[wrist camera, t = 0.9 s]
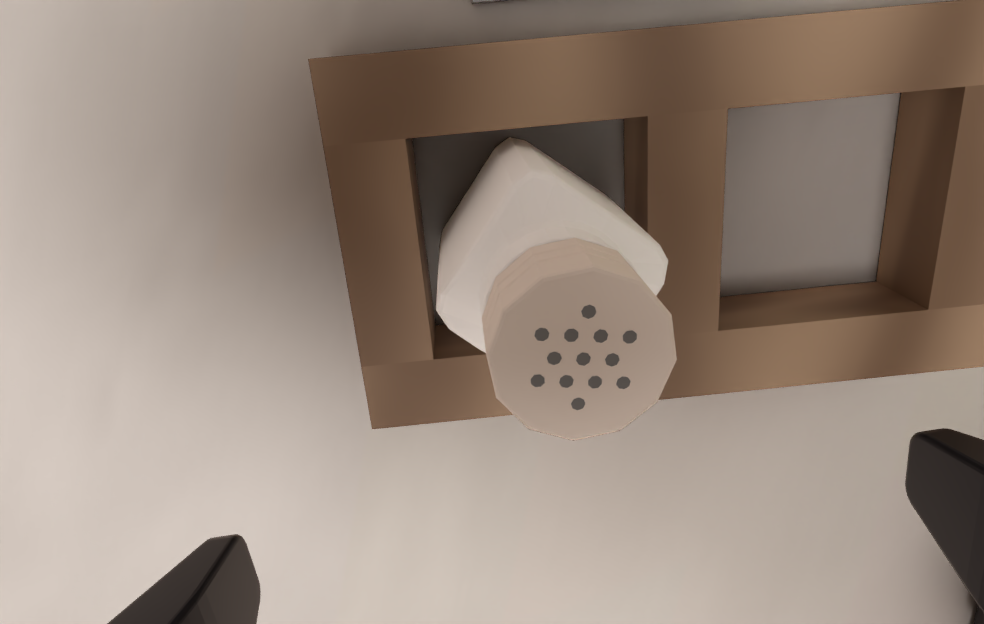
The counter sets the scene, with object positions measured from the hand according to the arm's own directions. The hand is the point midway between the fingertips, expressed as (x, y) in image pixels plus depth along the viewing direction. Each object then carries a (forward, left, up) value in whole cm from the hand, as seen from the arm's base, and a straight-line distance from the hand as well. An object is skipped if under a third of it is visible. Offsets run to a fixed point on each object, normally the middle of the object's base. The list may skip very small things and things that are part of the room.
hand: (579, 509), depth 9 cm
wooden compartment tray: (-5, -1, -12) cm, 13 cm away
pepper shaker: (-1, -1, -12) cm, 12 cm away
